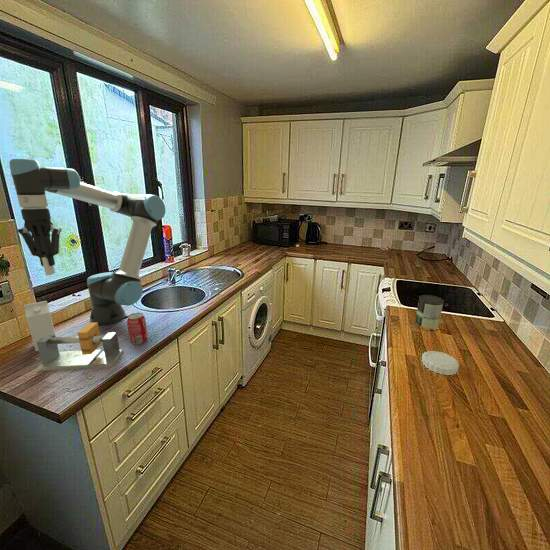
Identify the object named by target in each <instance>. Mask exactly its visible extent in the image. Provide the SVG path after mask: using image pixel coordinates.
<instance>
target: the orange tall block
mask: <svg viewBox="0 0 550 550" xmlns="http://www.w3.org/2000/svg"><path fill="white" fill-rule="evenodd" d="M77 335H78V336H77V337H79V341H80V343H79V345H80V351H82V355H85V354H92V353H93V352H94V351H95V350H98V347H100V346H101V344H103V343H102V342H95V343H93V342H92V336H93V335H95V336H101V332H100V327H99V325H98V322H95V323H91V322H88V323H87V324H86V325H84V327H82V328H81V329H80V330H79V331H78V332H77Z"/></svg>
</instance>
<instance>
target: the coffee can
mask: <svg viewBox="0 0 550 550" xmlns="http://www.w3.org/2000/svg"><path fill="white" fill-rule="evenodd" d="M444 302H445V300H444V299H443V297H442V298H441V297H440V296H436V295H433V294H432V295H431V294H422V295H419V296H418V303H417V308H416V309H417V311H416V314H415V321H414V323H415V322H416V324H418V325H419V326H421V327H424V328H430V329H435V328H438V329H439V326H440V321H441V316H442V312H443V306H444Z"/></svg>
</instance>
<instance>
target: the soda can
mask: <svg viewBox="0 0 550 550" xmlns="http://www.w3.org/2000/svg"><path fill="white" fill-rule="evenodd" d="M126 324H127V325H126V326H127V330H128V337H129V341H130V344H133V345H142V344H143V343H145V342H147V340H148V339H149V336H148V335H149V334H148V327H147V321H146V317H145V316H144V314H143V313H141V312H135V313H131V314H129V315H128V316H127V321H126Z"/></svg>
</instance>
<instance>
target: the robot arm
mask: <svg viewBox="0 0 550 550" xmlns="http://www.w3.org/2000/svg"><path fill="white" fill-rule="evenodd" d="M9 169H10V175H11V178H12V181H13V185H14V188H15V191H16V196H17V202H18V205H19V207H20V208H21V209H20V214H21V217H22V220H24V224H23V227H21V228H18V229H17V233H18V234H20V235H21V236H22V238H23V240H24V242H25V244H26V246H27V248H28V250H29V252H30V253H31V255H32V256H33V257H38V258H39V262H40V266H41V267H43V268H44V273H45V276H52V275H55V273H56V272H55V267H54V266H56V265H55V264H56V261H55V258H54V256H56V255H59V252H60V235H61V232H62V227H56V226H55V225H54V224H53V222H52V220H51V219H52V217H51V212H50V209H49V204H48V199H47V196H46V192H48V193H51V194H52V193H53V194H56V195H59V196H64V197H67V198H70V199H74V200H78V201H82V202H85V203H89V204H93V205H95V206H99V207H103V208H107V209H109V210H110V211H111V212H114V213H116V214H120V215H123V216H127V217H130V219H131V220H132V225H131V227H130V232H129V235H128V237H127V241H126V244H125V247H124V250H123V251H124V252H123V255H122V258H121V261H120V264H119V267H118V269H117V270H116V271H115V272H113V271H109V272H101V273H97V274H93V275H90V276H89V277H87V279H86V282H87V284H86V285H87V289H88V293H89V297H90V301H91V310H90V317H89V319H90V323H95V322H98V326H106V325H111V324H115V323H117V322H120V321H122V320H123V319H125V317H126V311H125V309H124V307H123V306H127V307H130V306H132V305H135V304H136V303H138V302H139V301H140V299H141V298H142V295H143V293H144V290H143V289H144V288H143V286H142V283H141V279H142V278H141V277H140V271H141V268H142V263H143V261H144V257H145V253H146V250H147V247H148V244H149V243H148V242H149V241H150V240H149V239H150V237H151V233H152V229H153V228H154V227H156V226H157V225H158V221H160V220H162V219H163V218H164V217H165V215H166V206H165V203H164V201H163V199H161V197H159V196H158V195H156V194H150V193H149V194H148V193H147V194H144V193H143V194H142V193H140V194H138V193H137V194H136V193H123V192H122V193H121V192H119V191H113V192H111V191H108V190H106V189H103V188H100V187H97V186H94V185H92V184H87V183H84V182H81V178H80V175H79V173H78V172H77V171H76V169H74V168H68V167H49V166H48V167H47V166H46V167H45V166H41V165H40V163H39V161H37V160H35V159H30V158H28V159H27V158H25V159H24V158H12V159H10V160H9ZM47 207H48V208H47Z"/></svg>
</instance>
